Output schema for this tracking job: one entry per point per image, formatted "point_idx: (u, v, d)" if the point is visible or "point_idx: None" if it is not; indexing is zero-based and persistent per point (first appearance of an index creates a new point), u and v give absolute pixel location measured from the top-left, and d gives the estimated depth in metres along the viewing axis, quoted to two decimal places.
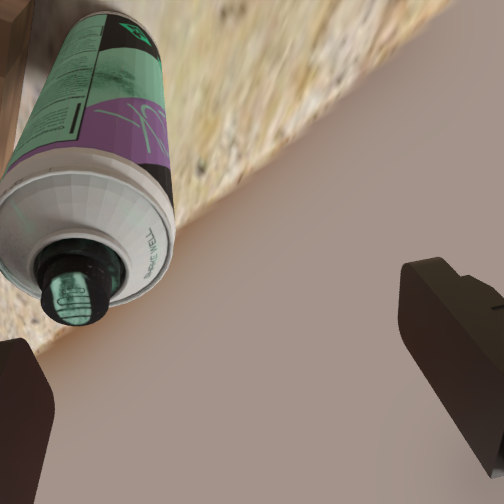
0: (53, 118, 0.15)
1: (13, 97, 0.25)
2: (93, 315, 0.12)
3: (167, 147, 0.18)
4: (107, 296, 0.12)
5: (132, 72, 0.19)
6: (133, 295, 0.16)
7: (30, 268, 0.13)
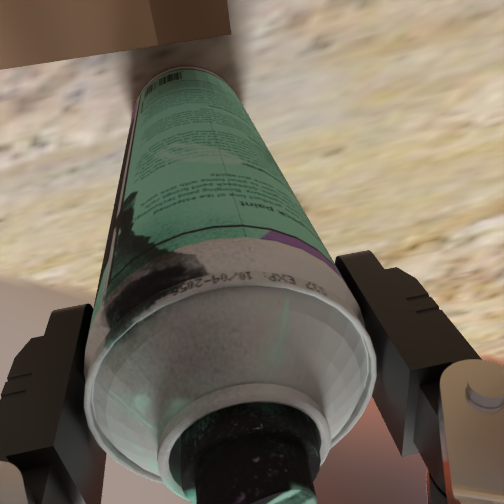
0: (298, 211, 0.11)
1: None
2: None
3: None
4: None
5: None
6: None
7: (225, 406, 0.07)
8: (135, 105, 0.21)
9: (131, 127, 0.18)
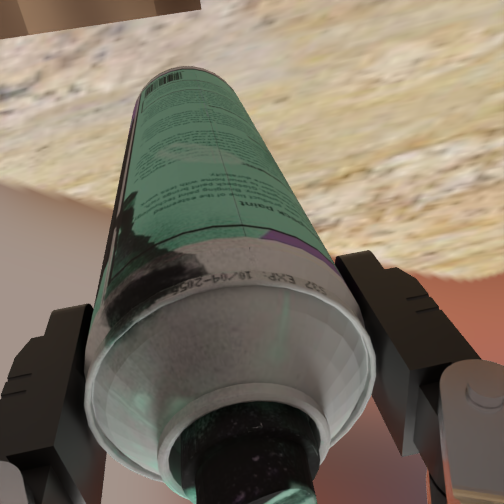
0: (298, 210, 0.11)
1: None
2: None
3: None
4: None
5: None
6: None
7: (225, 405, 0.07)
8: (135, 105, 0.21)
9: (131, 127, 0.18)
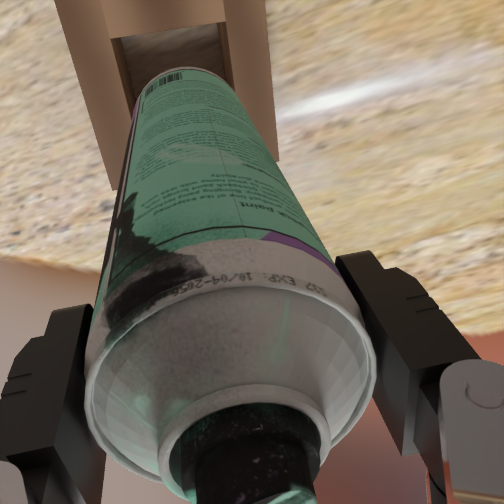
0: (298, 211, 0.11)
1: None
2: None
3: None
4: None
5: None
6: None
7: (225, 407, 0.07)
8: (135, 105, 0.21)
9: (131, 127, 0.18)
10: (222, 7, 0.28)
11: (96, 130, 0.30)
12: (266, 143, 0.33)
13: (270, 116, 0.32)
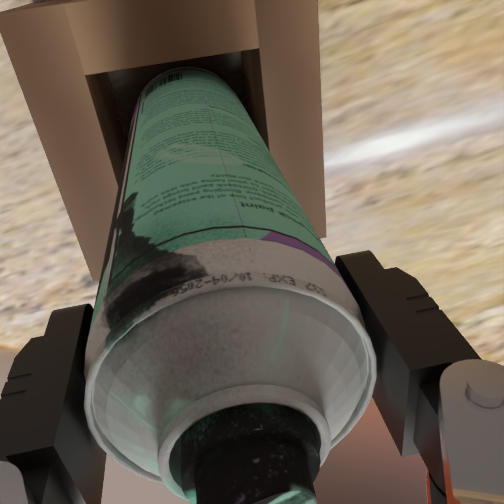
0: (299, 211, 0.11)
1: None
2: None
3: None
4: None
5: None
6: None
7: (226, 407, 0.07)
8: (135, 105, 0.21)
9: (131, 127, 0.18)
10: (254, 27, 0.18)
11: (68, 203, 0.21)
12: (310, 214, 0.23)
13: (317, 179, 0.22)
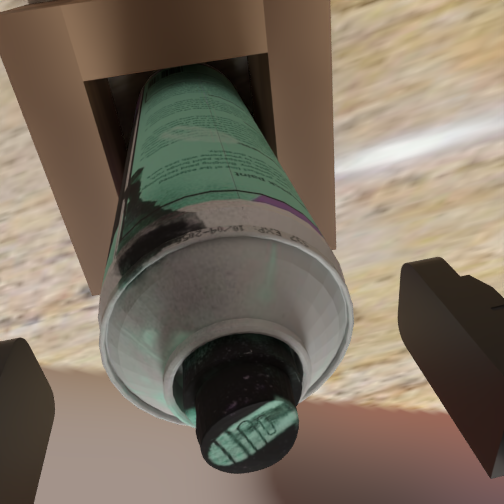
0: (288, 184, 0.12)
1: None
2: (238, 465, 0.08)
3: None
4: (277, 459, 0.08)
5: None
6: (172, 417, 0.11)
7: (221, 335, 0.08)
8: (139, 97, 0.22)
9: (136, 116, 0.19)
10: (263, 30, 0.17)
11: (65, 216, 0.20)
12: (319, 226, 0.22)
13: (327, 189, 0.21)
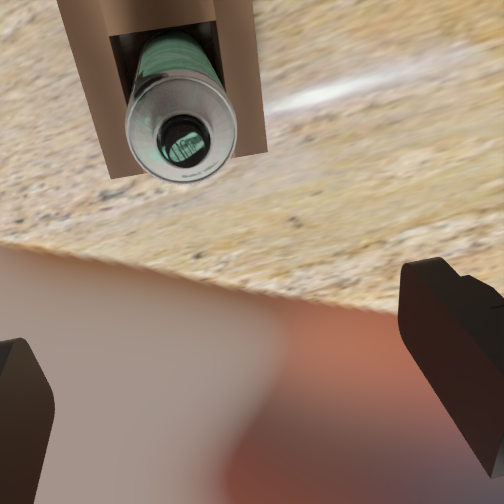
0: (214, 76, 0.24)
1: None
2: (181, 162, 0.21)
3: None
4: (197, 163, 0.21)
5: None
6: (157, 176, 0.23)
7: (175, 114, 0.21)
8: None
9: (138, 60, 0.32)
10: (212, 7, 0.30)
11: (95, 122, 0.32)
12: (255, 135, 0.35)
13: (258, 109, 0.34)
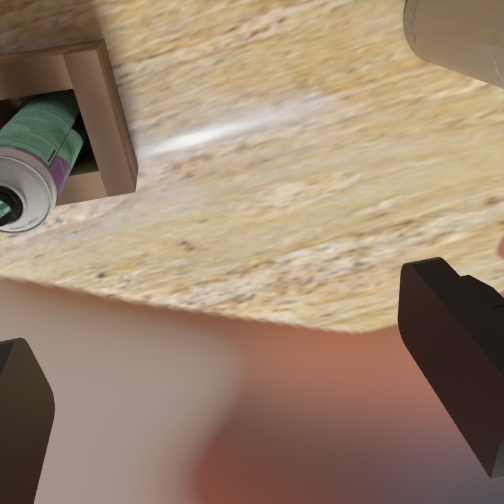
0: (43, 146, 0.31)
1: None
2: None
3: None
4: (7, 223, 0.27)
5: (75, 151, 0.36)
6: None
7: None
8: None
9: None
10: (69, 78, 0.36)
11: None
12: (122, 178, 0.41)
13: (121, 158, 0.40)
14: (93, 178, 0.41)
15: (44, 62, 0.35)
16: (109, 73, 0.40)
